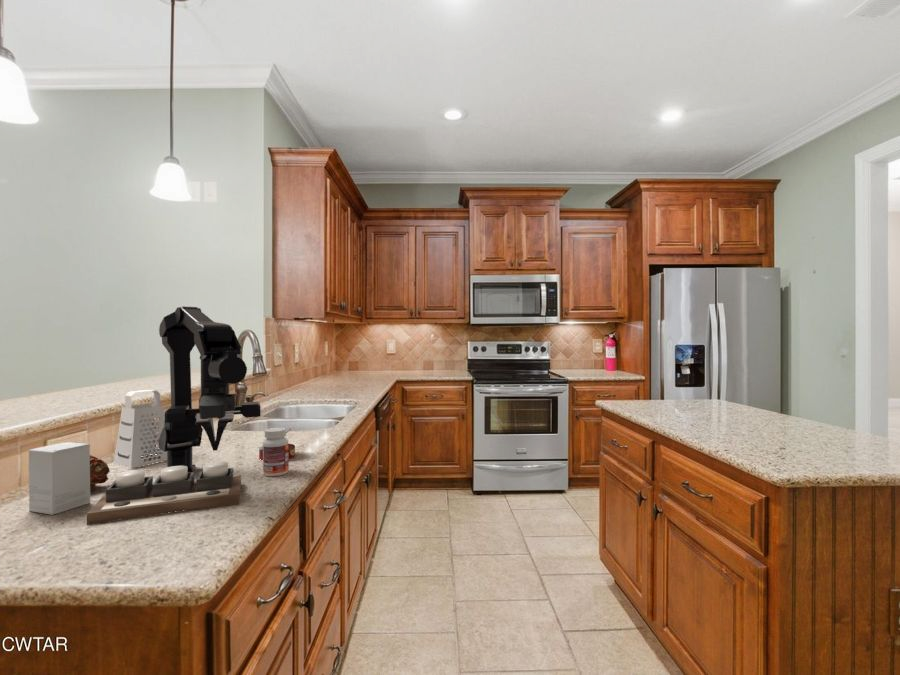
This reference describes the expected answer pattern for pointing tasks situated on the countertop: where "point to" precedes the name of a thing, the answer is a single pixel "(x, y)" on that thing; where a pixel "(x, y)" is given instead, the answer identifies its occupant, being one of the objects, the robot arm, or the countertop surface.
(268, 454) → the pill bottle
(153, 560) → the countertop surface
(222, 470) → the button
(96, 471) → the dragon fruit
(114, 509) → the button board
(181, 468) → the button middle
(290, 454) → the canned food
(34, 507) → the supplement box
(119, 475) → the button
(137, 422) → the grater
